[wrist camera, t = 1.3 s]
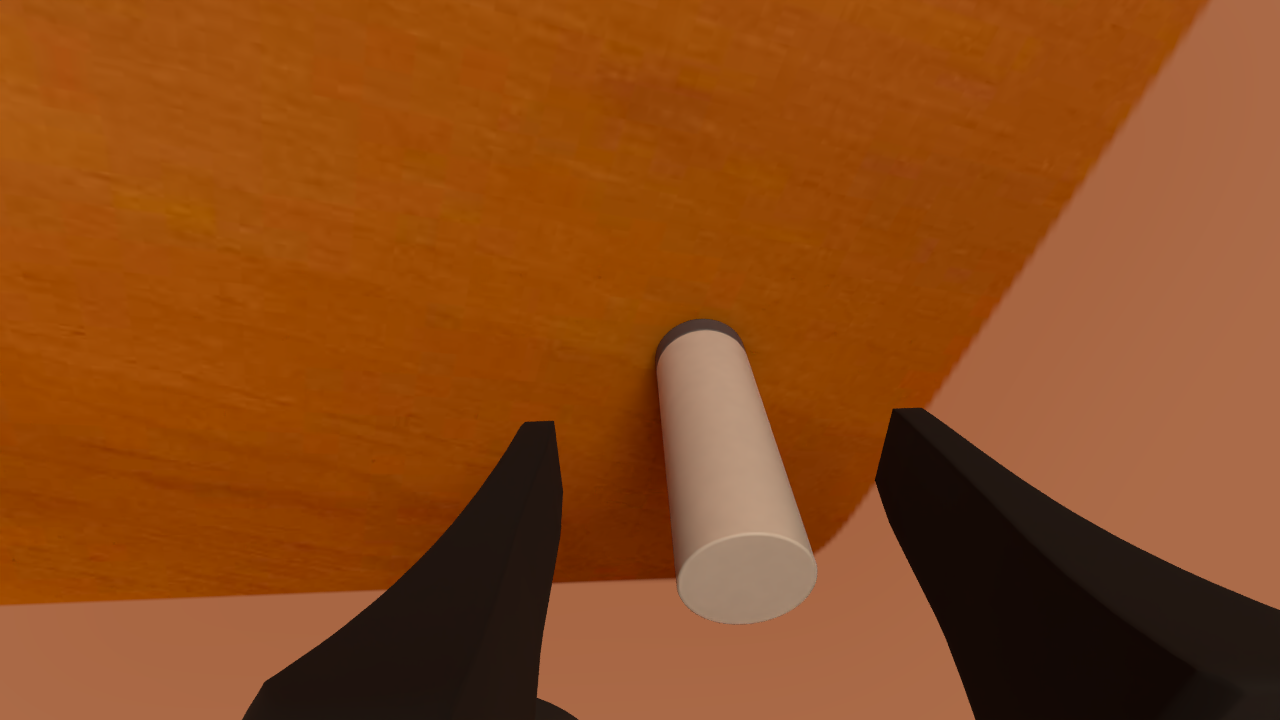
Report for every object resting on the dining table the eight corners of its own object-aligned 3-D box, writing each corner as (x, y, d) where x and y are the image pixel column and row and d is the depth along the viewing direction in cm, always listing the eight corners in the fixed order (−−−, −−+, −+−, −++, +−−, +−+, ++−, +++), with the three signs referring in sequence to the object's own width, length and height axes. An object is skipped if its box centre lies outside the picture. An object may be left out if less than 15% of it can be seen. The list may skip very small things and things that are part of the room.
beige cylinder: (741, 391, 17) (808, 623, 11) (655, 394, 17) (676, 628, 11) (747, 316, 16) (827, 531, 10) (654, 319, 16) (677, 537, 10)
